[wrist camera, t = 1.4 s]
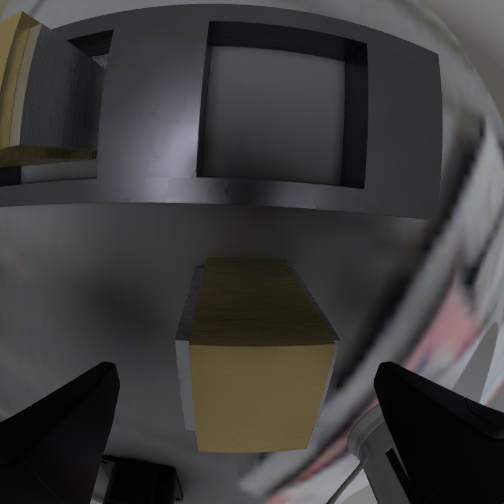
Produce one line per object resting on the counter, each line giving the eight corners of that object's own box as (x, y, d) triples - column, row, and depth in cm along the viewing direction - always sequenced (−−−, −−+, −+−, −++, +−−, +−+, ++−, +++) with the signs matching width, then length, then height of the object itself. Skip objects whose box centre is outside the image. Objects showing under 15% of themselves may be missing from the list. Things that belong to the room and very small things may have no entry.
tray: (406, 211, 13) (435, 220, 11) (-1, 201, 11) (-29, 209, 9) (410, 66, 11) (437, 54, 9) (11, 66, 9) (-14, 57, 7)
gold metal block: (285, 342, 15) (318, 446, 8) (198, 341, 14) (184, 450, 8) (294, 260, 14) (351, 342, 7) (196, 257, 13) (170, 343, 7)
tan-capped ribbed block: (103, 158, 12) (3, 158, 5) (32, 165, 11) (-70, 177, 4) (113, 67, 10) (33, 6, 4) (40, 83, 10) (-51, 53, 3)
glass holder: (411, 447, 20) (471, 557, 5) (267, 465, 18) (295, 629, 4) (457, 378, 18) (554, 495, 3) (298, 390, 16) (372, 626, 2)
